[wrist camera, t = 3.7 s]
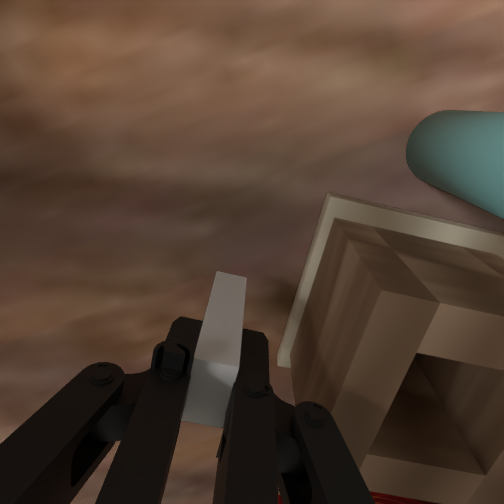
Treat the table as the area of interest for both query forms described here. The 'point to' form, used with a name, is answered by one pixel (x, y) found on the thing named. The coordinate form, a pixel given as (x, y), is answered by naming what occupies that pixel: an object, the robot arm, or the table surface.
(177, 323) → the robot arm
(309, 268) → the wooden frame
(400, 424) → the block
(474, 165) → the dowel
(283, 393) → the table surface
